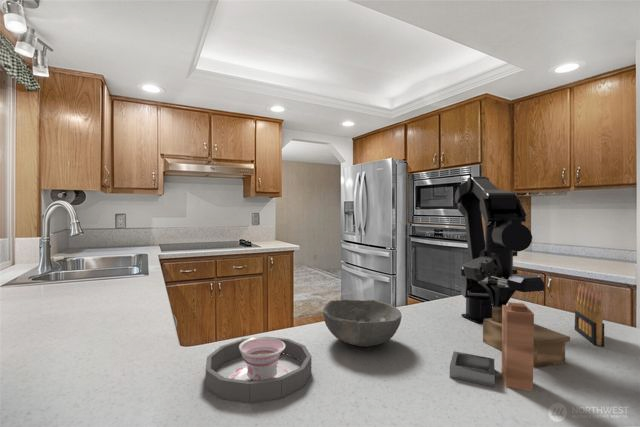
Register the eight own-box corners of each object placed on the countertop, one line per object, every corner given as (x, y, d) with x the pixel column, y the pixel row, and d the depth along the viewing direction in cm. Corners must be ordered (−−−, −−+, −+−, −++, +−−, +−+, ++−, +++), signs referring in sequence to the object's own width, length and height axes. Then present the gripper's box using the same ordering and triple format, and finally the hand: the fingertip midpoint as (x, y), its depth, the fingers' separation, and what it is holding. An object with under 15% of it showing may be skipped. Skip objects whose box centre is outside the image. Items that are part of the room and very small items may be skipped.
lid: (483, 323, 76) (483, 305, 76) (512, 319, 78) (512, 303, 78) (537, 346, 63) (537, 325, 63) (569, 341, 65) (570, 321, 65)
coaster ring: (208, 357, 67) (208, 342, 67) (297, 346, 73) (297, 333, 73) (203, 410, 50) (203, 390, 50) (322, 391, 55) (322, 373, 55)
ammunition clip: (604, 346, 74) (605, 293, 74) (594, 345, 74) (595, 292, 74) (583, 330, 84) (583, 283, 84) (574, 329, 84) (574, 282, 84)
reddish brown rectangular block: (501, 375, 61) (502, 300, 60) (526, 379, 59) (527, 302, 59) (506, 386, 57) (507, 306, 57) (532, 390, 56) (534, 308, 55)
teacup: (307, 374, 61) (307, 341, 61) (266, 408, 51) (266, 368, 50) (257, 359, 67) (257, 329, 67) (211, 387, 57) (211, 351, 56)
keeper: (453, 361, 66) (453, 351, 66) (494, 369, 63) (494, 358, 63) (449, 377, 60) (449, 366, 60) (494, 387, 57) (494, 375, 57)
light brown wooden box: (482, 341, 76) (483, 323, 76) (510, 338, 78) (510, 320, 78) (533, 367, 64) (534, 345, 64) (564, 362, 66) (565, 340, 66)
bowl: (403, 363, 65) (403, 323, 65) (315, 355, 69) (315, 317, 69) (399, 331, 83) (400, 299, 83) (330, 325, 86) (330, 295, 86)
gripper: (443, 243, 83) (442, 305, 84) (503, 252, 65) (502, 330, 66) (479, 242, 87) (479, 301, 87) (546, 250, 69) (545, 325, 69)
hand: (498, 313), depth 77 cm, fingers closed
